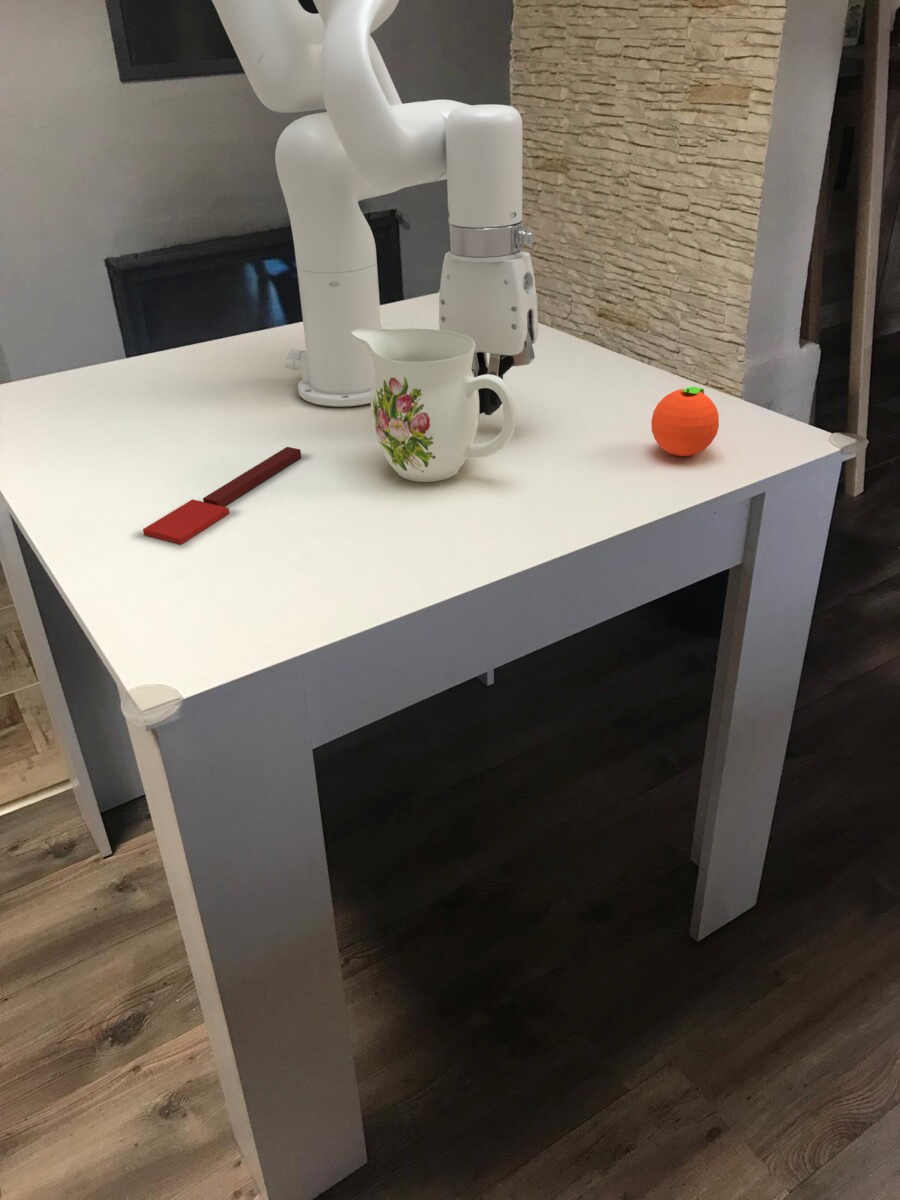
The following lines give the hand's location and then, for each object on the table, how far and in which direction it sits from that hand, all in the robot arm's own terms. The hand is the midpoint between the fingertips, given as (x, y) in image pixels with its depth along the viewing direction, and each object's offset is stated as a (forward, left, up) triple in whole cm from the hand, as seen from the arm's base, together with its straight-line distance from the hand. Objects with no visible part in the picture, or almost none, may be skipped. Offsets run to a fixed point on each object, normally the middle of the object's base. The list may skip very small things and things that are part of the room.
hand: (488, 410), depth 108 cm
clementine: (+22, +3, -3) cm, 22 cm away
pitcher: (0, -12, -3) cm, 12 cm away
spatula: (-16, -26, -2) cm, 31 cm away
